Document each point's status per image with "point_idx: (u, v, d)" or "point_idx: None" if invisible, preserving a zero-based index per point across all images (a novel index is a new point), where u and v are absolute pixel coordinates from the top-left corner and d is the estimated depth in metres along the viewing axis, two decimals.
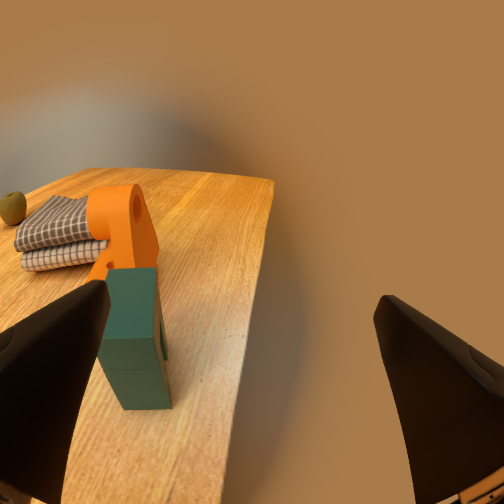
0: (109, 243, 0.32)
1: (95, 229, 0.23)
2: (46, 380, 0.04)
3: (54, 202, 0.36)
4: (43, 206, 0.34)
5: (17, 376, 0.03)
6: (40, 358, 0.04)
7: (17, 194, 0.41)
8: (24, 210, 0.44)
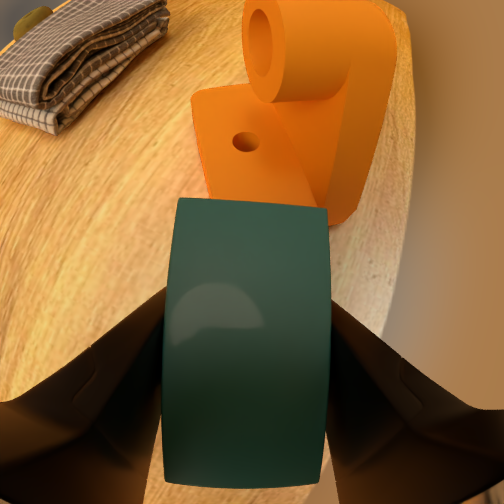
0: (200, 97, 0.15)
1: (301, 84, 0.08)
2: (137, 405, 0.04)
3: (67, 9, 0.14)
4: (45, 19, 0.13)
5: (114, 409, 0.04)
6: (130, 380, 0.05)
7: (38, 10, 0.17)
8: None
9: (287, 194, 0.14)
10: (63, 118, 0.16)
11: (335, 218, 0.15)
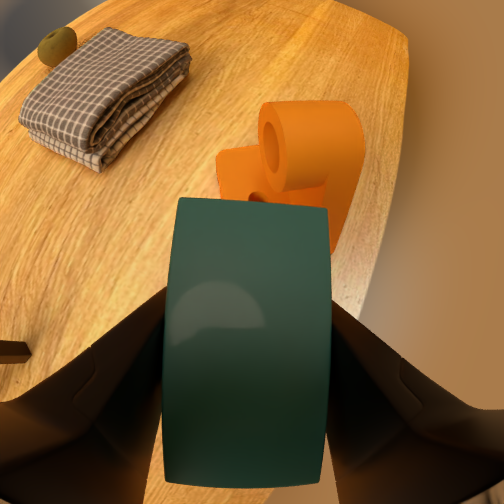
0: (223, 157, 0.22)
1: (296, 186, 0.15)
2: (137, 405, 0.04)
3: (96, 44, 0.21)
4: (76, 53, 0.20)
5: (114, 409, 0.04)
6: (130, 380, 0.05)
7: (61, 32, 0.24)
8: (73, 46, 0.28)
9: None
10: (105, 157, 0.23)
11: None
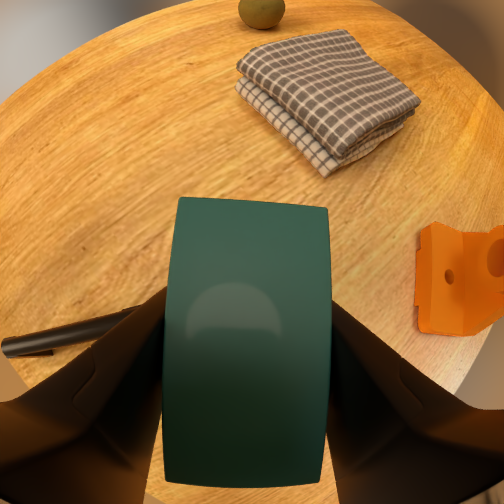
0: (435, 228, 0.22)
1: (502, 292, 0.14)
2: (137, 405, 0.04)
3: (337, 42, 0.24)
4: (318, 37, 0.23)
5: (114, 409, 0.04)
6: (130, 380, 0.05)
7: None
8: (280, 19, 0.31)
9: (455, 317, 0.20)
10: None
11: (463, 335, 0.20)
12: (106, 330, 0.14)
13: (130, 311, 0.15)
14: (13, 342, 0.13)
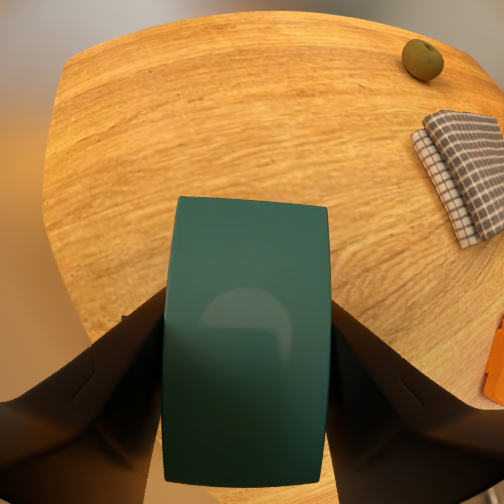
0: None
1: None
2: (137, 405, 0.04)
3: (491, 129, 0.22)
4: (481, 120, 0.21)
5: (114, 409, 0.04)
6: (130, 380, 0.05)
7: (440, 57, 0.27)
8: (436, 76, 0.30)
9: None
10: None
11: None
12: None
13: None
14: None
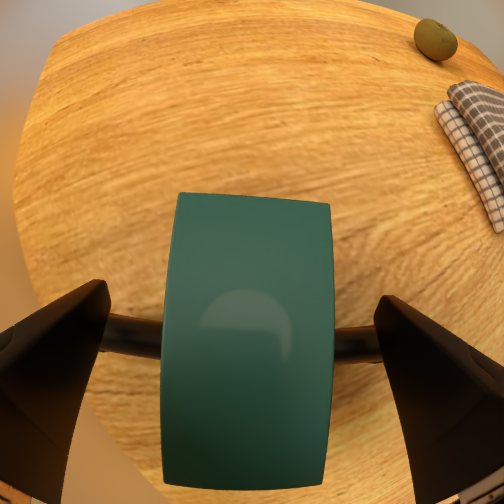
0: None
1: None
2: (46, 380, 0.04)
3: None
4: (503, 97, 0.16)
5: (17, 376, 0.03)
6: (40, 357, 0.04)
7: (454, 37, 0.21)
8: (450, 57, 0.25)
9: None
10: None
11: None
12: (356, 355, 0.09)
13: None
14: (111, 327, 0.08)
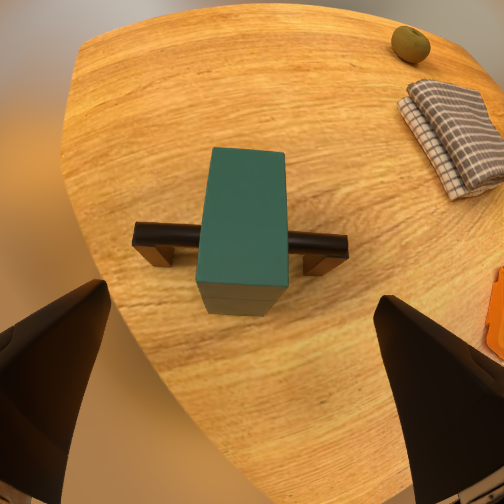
0: None
1: None
2: (46, 380, 0.04)
3: (474, 100, 0.24)
4: (463, 91, 0.23)
5: (17, 376, 0.03)
6: (40, 357, 0.04)
7: (427, 41, 0.28)
8: (423, 59, 0.32)
9: None
10: None
11: None
12: (311, 245, 0.16)
13: (339, 236, 0.16)
14: (163, 227, 0.15)
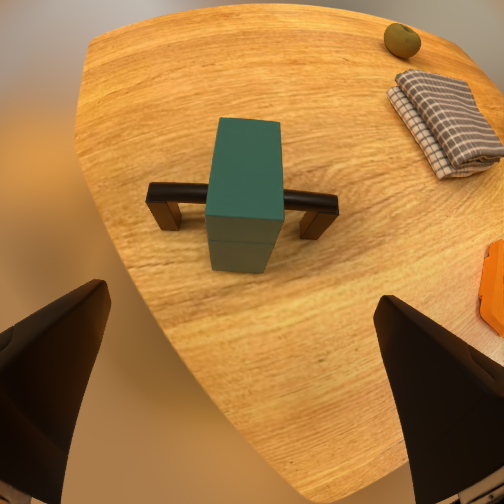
0: (501, 243, 0.23)
1: None
2: (46, 380, 0.04)
3: (461, 89, 0.26)
4: (449, 80, 0.25)
5: (17, 376, 0.03)
6: (40, 357, 0.04)
7: (417, 37, 0.31)
8: (414, 54, 0.34)
9: None
10: None
11: None
12: (305, 201, 0.18)
13: (330, 194, 0.18)
14: (175, 184, 0.17)
